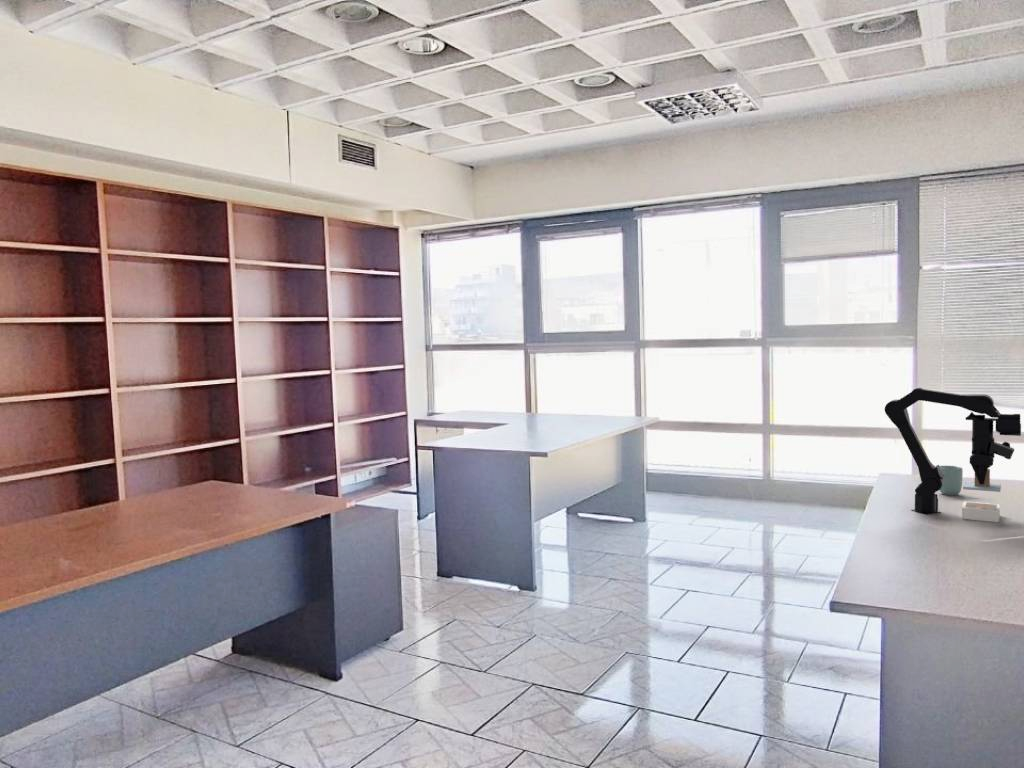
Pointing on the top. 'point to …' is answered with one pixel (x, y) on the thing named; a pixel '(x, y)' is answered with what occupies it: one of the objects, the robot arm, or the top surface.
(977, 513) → the box
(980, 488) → the lid
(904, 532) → the top surface
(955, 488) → the cup
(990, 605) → the top surface
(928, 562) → the top surface
